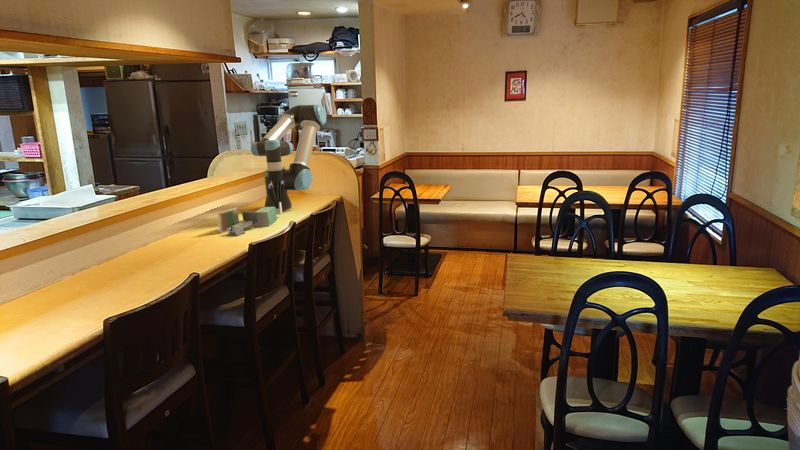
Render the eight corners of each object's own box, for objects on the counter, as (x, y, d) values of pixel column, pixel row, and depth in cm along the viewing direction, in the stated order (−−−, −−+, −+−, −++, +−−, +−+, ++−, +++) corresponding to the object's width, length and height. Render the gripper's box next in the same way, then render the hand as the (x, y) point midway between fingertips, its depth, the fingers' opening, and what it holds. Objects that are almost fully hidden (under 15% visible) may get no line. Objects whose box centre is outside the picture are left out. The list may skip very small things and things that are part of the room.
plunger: (241, 223, 263) (239, 211, 262) (260, 224, 259) (258, 212, 257) (222, 230, 251) (220, 217, 250) (242, 231, 247) (240, 218, 245)
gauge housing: (238, 226, 264) (235, 207, 262) (257, 228, 259) (255, 208, 257) (217, 234, 251) (214, 214, 248) (237, 236, 246) (234, 215, 243)
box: (277, 220, 275) (275, 206, 273) (268, 226, 262) (267, 212, 260) (263, 220, 275) (262, 206, 274) (254, 227, 262) (252, 212, 260)
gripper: (276, 167, 281) (280, 211, 287) (261, 171, 270) (266, 216, 276) (288, 168, 278) (292, 211, 284) (273, 171, 267) (277, 217, 273)
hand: (279, 214), depth 280 cm, fingers closed
